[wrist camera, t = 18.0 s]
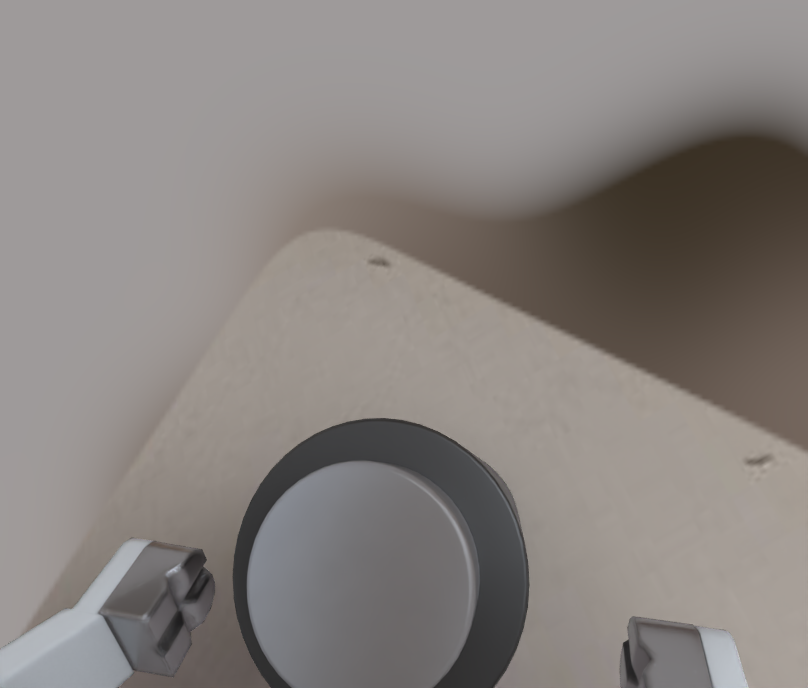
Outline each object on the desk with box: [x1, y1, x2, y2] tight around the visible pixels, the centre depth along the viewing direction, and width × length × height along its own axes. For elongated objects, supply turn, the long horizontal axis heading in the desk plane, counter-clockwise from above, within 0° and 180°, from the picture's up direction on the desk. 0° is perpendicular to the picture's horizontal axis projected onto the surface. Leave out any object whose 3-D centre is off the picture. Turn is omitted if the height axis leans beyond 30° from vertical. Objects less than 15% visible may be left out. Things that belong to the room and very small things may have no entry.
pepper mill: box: [233, 418, 529, 688], centre depth 12 cm, size 5×5×10 cm
